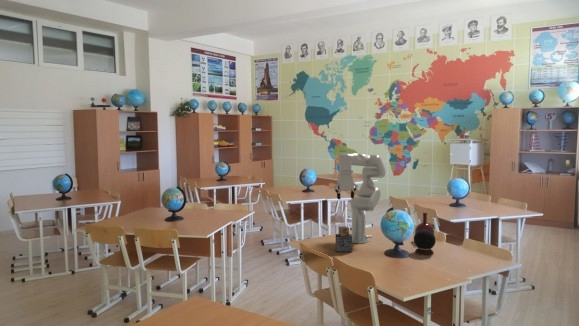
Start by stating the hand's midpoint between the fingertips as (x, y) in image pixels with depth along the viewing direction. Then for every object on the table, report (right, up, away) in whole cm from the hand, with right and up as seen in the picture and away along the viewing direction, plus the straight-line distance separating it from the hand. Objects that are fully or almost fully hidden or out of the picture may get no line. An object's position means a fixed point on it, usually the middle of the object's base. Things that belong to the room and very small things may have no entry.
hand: (345, 198), depth 273 cm
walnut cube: (-2, -23, -5) cm, 24 cm away
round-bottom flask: (+57, -32, +17) cm, 68 cm away
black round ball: (+48, -34, -10) cm, 60 cm away
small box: (-2, -34, -4) cm, 34 cm away
